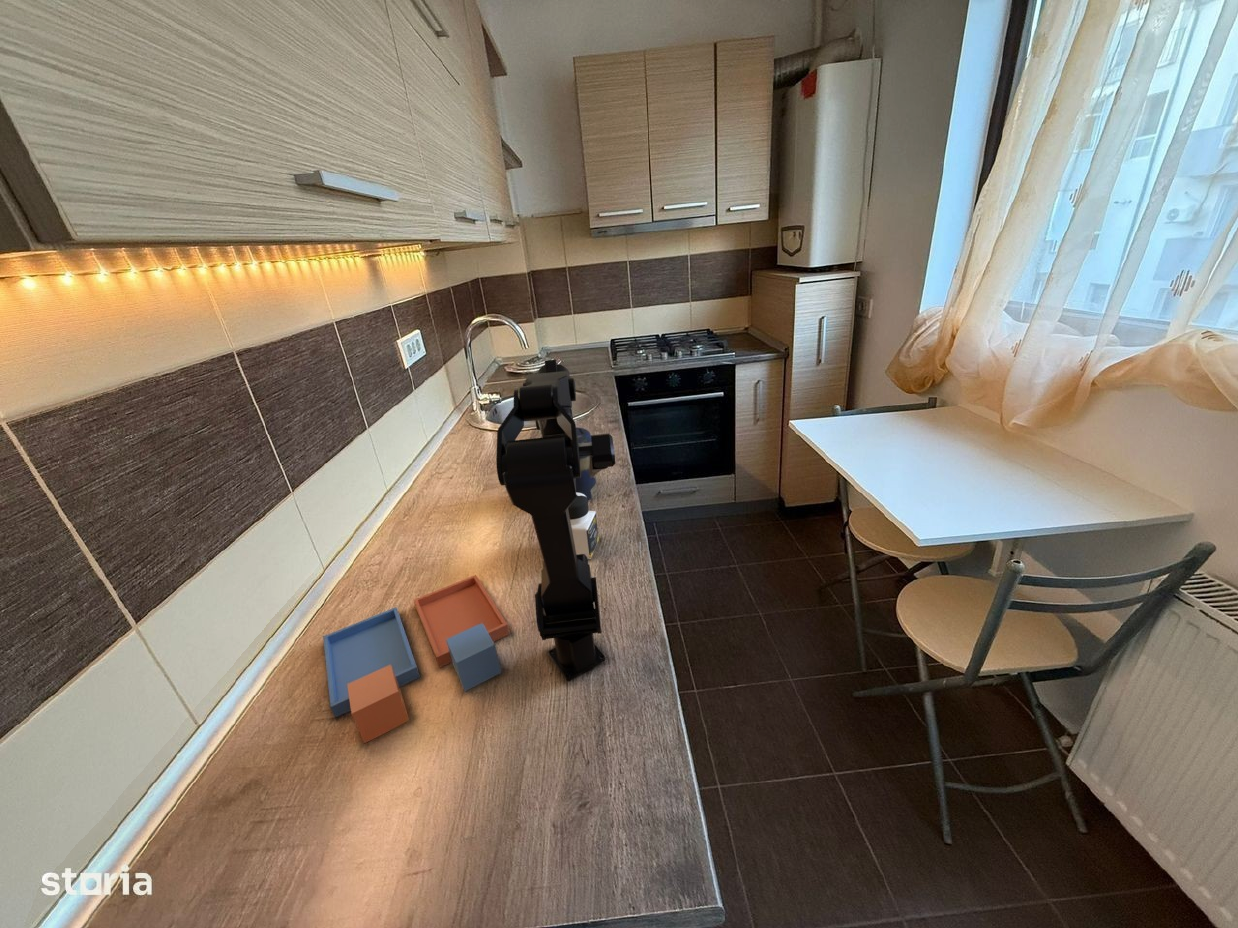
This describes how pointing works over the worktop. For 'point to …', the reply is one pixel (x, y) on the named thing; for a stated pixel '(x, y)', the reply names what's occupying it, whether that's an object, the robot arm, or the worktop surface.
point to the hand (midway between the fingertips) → (567, 478)
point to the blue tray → (366, 655)
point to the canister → (585, 468)
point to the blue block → (473, 656)
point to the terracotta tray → (458, 615)
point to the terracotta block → (377, 703)
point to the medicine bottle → (583, 526)
